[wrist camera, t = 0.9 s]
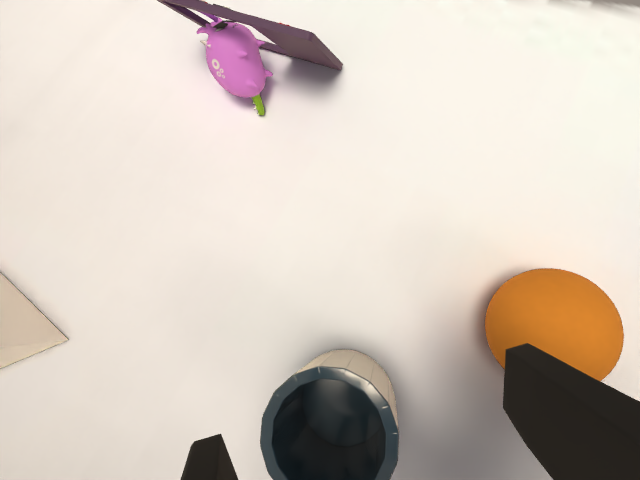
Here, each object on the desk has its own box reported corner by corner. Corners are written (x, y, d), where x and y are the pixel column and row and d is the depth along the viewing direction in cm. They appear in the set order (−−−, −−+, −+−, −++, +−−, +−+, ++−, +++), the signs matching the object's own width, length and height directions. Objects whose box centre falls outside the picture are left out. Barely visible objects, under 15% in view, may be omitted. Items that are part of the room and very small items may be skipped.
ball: (604, 301, 22) (676, 300, 17) (561, 401, 22) (620, 433, 16) (500, 255, 23) (535, 240, 18) (457, 349, 23) (479, 363, 17)
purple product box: (317, 15, 20) (153, -28, 21) (286, 127, 21) (133, 77, 23) (347, 52, 26) (219, 16, 28) (322, 136, 27) (200, 96, 29)
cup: (411, 378, 23) (422, 409, 16) (368, 471, 23) (360, 543, 16) (322, 332, 24) (297, 342, 17) (280, 420, 24) (237, 466, 17)
